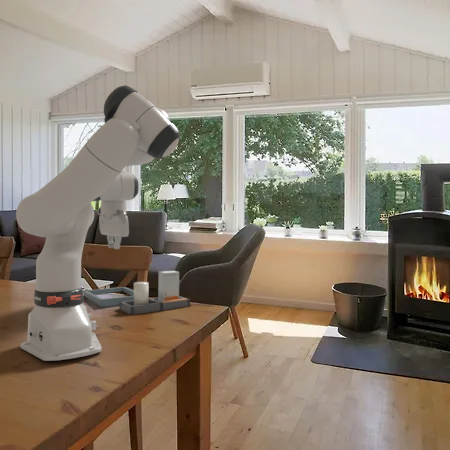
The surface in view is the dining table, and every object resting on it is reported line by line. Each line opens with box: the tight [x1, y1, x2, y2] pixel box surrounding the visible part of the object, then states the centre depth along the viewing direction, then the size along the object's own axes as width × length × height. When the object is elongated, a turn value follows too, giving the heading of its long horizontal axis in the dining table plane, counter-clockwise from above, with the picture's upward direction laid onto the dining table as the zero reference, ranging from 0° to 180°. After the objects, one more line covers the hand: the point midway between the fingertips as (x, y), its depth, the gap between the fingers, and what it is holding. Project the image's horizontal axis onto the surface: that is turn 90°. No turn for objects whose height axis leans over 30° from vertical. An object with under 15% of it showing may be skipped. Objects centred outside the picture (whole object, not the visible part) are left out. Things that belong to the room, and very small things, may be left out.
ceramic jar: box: [133, 281, 150, 306], centre depth 151 cm, size 5×5×9 cm
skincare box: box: [157, 270, 180, 302], centre depth 156 cm, size 6×4×12 cm
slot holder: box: [118, 295, 191, 316], centre depth 154 cm, size 9×22×3 cm, turn 124°
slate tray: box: [83, 286, 134, 309], centre depth 165 cm, size 20×16×3 cm
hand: (114, 248), depth 165 cm, fingers open, 4 cm apart
